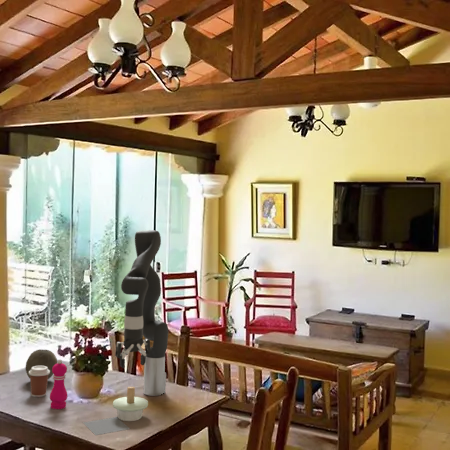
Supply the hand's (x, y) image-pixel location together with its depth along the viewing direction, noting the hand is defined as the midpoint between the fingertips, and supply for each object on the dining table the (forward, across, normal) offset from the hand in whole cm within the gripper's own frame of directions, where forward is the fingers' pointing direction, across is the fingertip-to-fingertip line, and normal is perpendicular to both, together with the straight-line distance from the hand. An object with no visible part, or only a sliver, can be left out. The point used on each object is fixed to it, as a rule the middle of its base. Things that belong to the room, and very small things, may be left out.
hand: (132, 366), depth 244 cm
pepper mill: (+21, +22, -24) cm, 39 cm away
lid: (+16, 0, 0) cm, 16 cm away
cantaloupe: (+21, +19, -61) cm, 68 cm away
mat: (+21, +12, +5) cm, 25 cm away
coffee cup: (+21, +25, -43) cm, 54 cm away
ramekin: (+22, +1, 0) cm, 22 cm away
